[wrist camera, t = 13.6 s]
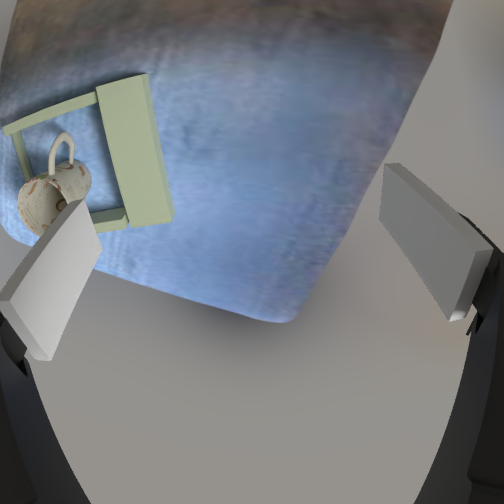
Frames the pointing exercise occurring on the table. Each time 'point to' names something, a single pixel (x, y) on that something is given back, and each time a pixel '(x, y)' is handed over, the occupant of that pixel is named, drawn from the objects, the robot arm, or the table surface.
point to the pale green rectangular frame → (119, 151)
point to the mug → (53, 189)
